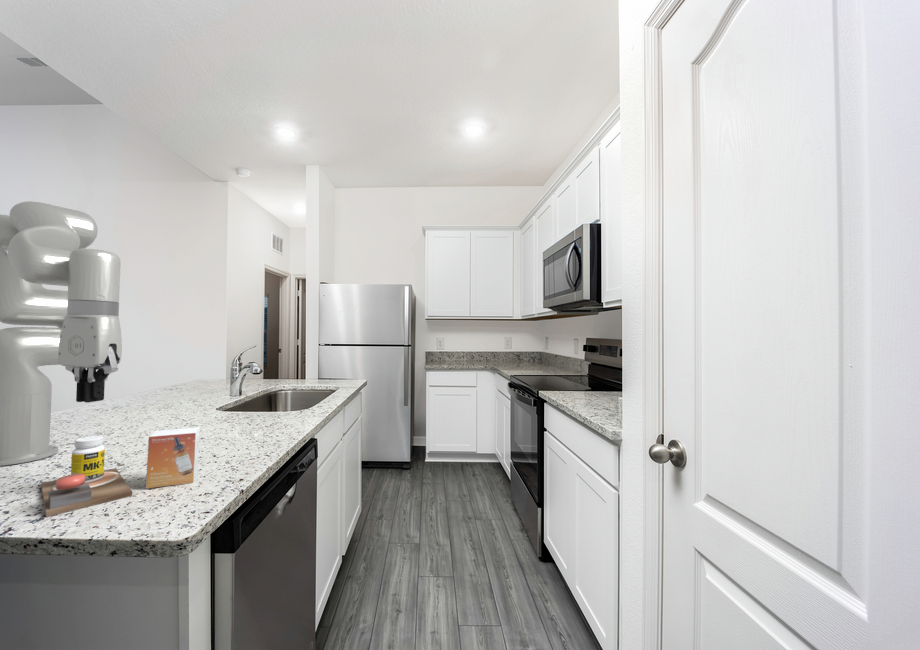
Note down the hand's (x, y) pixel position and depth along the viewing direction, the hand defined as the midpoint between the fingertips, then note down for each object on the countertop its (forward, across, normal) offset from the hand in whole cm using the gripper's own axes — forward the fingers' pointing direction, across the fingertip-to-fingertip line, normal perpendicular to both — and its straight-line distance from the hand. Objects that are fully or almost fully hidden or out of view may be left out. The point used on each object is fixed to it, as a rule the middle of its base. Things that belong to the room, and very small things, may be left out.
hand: (90, 400), depth 75 cm
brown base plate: (+17, +3, -2) cm, 17 cm away
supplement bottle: (+16, 0, 0) cm, 16 cm away
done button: (+14, +6, -7) cm, 17 cm away
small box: (+17, +15, +5) cm, 23 cm away
